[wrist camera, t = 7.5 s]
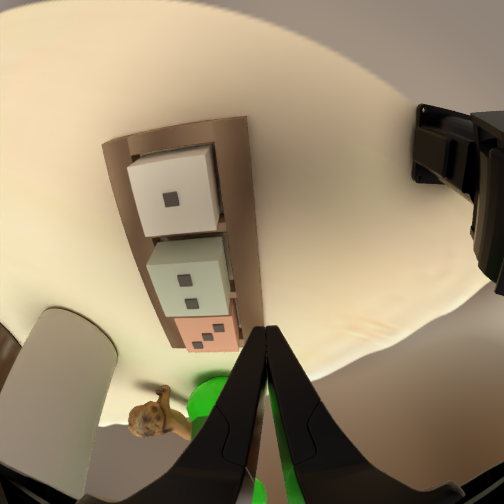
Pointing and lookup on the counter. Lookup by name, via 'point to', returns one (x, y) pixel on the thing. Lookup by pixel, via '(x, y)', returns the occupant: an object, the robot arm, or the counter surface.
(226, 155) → the walnut board
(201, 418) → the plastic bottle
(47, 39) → the counter surface
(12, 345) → the plant pot
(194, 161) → the tile one pip
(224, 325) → the tile three pips
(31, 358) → the cylinder vase
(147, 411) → the lion figurine
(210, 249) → the tile two pips
